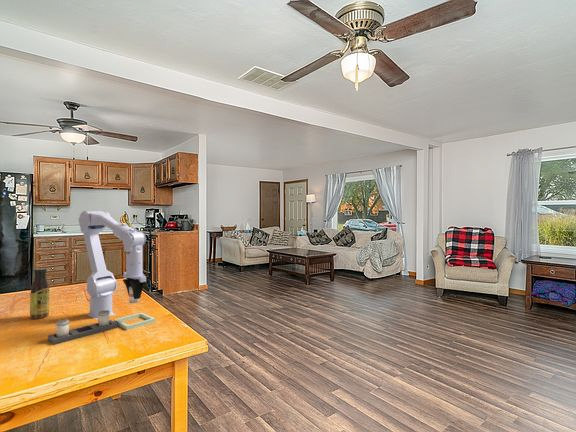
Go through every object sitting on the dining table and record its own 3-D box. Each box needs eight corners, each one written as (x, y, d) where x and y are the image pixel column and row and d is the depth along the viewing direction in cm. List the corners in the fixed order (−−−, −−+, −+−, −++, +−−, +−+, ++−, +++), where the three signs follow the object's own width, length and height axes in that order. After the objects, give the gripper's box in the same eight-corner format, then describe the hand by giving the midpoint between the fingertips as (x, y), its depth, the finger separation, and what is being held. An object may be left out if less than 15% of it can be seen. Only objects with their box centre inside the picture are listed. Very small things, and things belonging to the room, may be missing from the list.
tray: (113, 324, 124) (113, 319, 124) (141, 317, 133) (141, 312, 133) (126, 331, 117) (126, 326, 117) (155, 323, 126) (155, 318, 126)
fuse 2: (96, 328, 119) (96, 312, 119) (107, 325, 122) (107, 309, 122) (100, 330, 117) (100, 314, 117) (111, 327, 120) (111, 311, 119)
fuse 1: (54, 338, 109) (54, 321, 109) (67, 335, 112) (67, 318, 112) (58, 341, 107) (58, 324, 107) (70, 338, 110) (70, 321, 109)
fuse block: (47, 340, 109) (47, 335, 109) (110, 324, 124) (110, 319, 124) (53, 346, 104) (53, 340, 104) (117, 329, 120) (117, 323, 120)
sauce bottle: (38, 320, 128) (37, 270, 128) (25, 319, 129) (25, 270, 129) (53, 314, 135) (53, 267, 134) (41, 313, 136) (40, 267, 135)
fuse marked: (127, 301, 125) (127, 286, 124) (137, 299, 127) (136, 284, 127) (131, 303, 122) (131, 288, 122) (141, 301, 125) (140, 286, 125)
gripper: (115, 262, 126) (115, 296, 126) (132, 266, 117) (133, 303, 117) (133, 259, 131) (133, 292, 132) (151, 264, 122) (151, 299, 123)
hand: (134, 297), depth 125 cm, fingers closed on fuse marked, 4 cm apart
